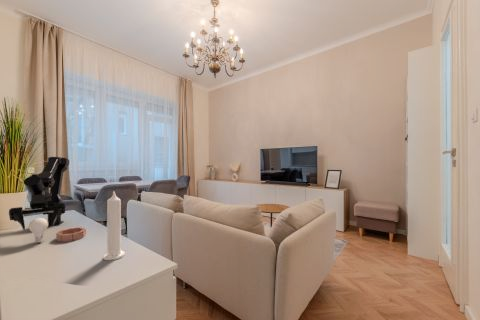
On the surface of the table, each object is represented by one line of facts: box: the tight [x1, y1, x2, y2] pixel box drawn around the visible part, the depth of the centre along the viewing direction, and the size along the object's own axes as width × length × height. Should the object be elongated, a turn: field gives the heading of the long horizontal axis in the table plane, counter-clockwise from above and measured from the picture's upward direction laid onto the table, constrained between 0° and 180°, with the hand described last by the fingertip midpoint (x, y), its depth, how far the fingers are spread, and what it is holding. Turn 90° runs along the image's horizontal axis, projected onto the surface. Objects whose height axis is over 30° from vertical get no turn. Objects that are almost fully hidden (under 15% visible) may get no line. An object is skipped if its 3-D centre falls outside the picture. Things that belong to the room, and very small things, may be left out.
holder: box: [55, 226, 87, 243], centre depth 104 cm, size 10×10×3 cm
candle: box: [103, 190, 125, 261], centre depth 84 cm, size 7×7×25 cm
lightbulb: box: [28, 217, 49, 244], centre depth 97 cm, size 6×6×11 cm
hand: (38, 227), depth 96 cm, fingers open, 9 cm apart
